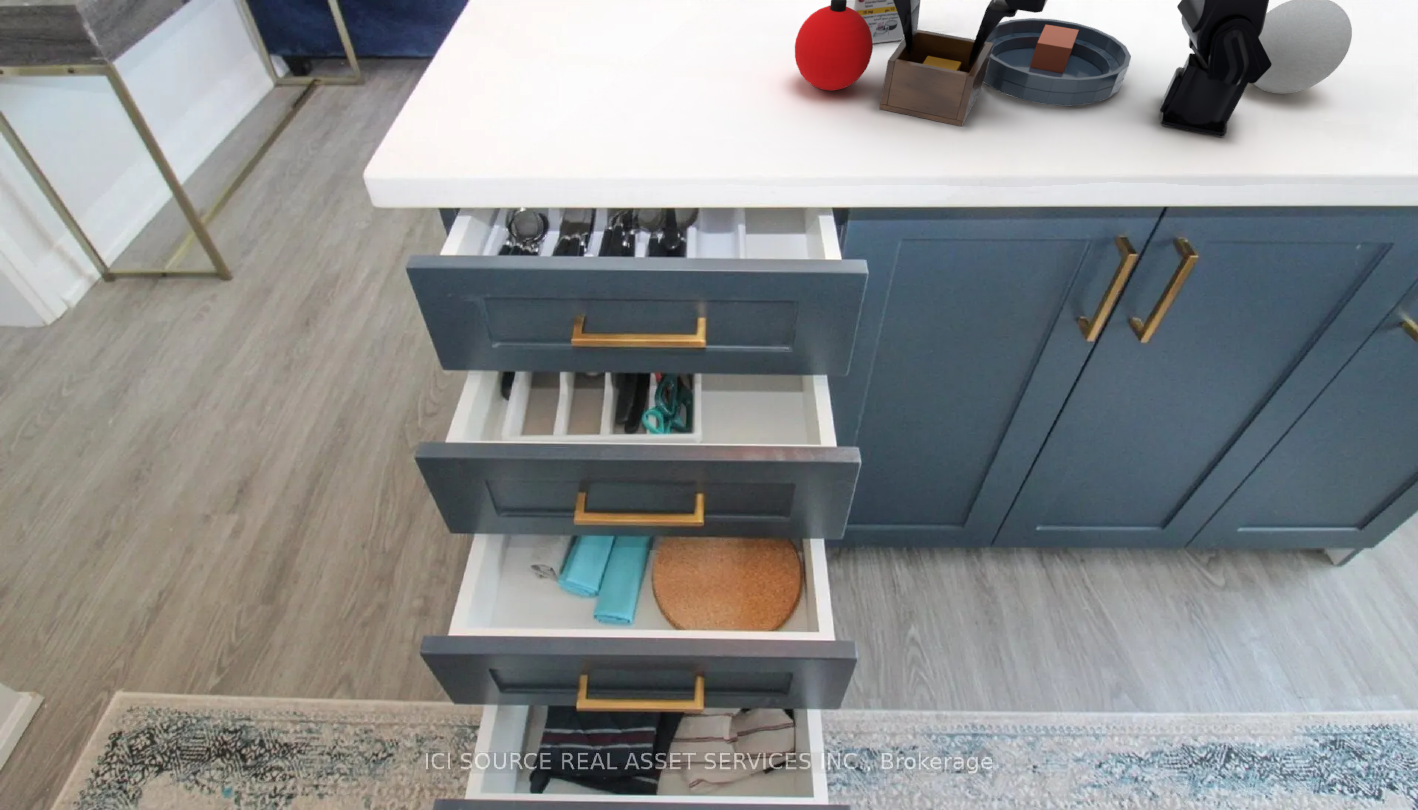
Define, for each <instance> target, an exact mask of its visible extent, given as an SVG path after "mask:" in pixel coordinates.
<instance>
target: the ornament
mask: <svg viewBox="0 0 1418 810" xmlns="http://www.w3.org/2000/svg"><path fill="white" fill-rule="evenodd" d="M846 5H847V0H830V5H827V6H824V7H822V8H819V9H817V10H815V11H814V12H813V13H812V14H810V15H809V16H808V17H807V18H806V19H805V20H804V22H803V23H802V25H801V26H800V28H799V29H798V33H797V35H796V37H795V43H794V58H795V59H794V60H795V64H796V66H797V68H798V70H799V72H800V74H801V76H802V77H803V78H804V79H805V81H806V82H808V83H809V84H810V85H811V86H813V87H815V88H817V89H820V90H824V91H838V90H844V89H846V88H848V87H850V86H851V85H852V84H854V83H856V82H857V81H858V80H859V79H860V78H861V77H862V76H863V74H864V73H865V72H866V70H867V68H868V66H869V64H870V62H871V59H872V54H873V48H874V47H873V45H874V43H873V42H872V35H871V31H870V28H869V26H868V24H867V23H866V21H865V20H864V18H863V17H862V16H861V15H860V14H859V13H858V12H857V11H855V10H853V9H851V8H849V7H846Z"/></svg>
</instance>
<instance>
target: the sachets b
mask: <svg viewBox="0 0 1418 810" xmlns="http://www.w3.org/2000/svg"><path fill="white" fill-rule="evenodd" d="M1078 31H1079V30H1076V29H1070V28H1064V27H1058V26H1052V25H1045V27H1044V29H1043V31H1042V34H1041V36H1040V38H1039V40H1038V42H1037V45H1036V49H1035V52H1034V55H1033V58H1032V61H1031V65H1030V67H1031V68H1037V69H1042V70H1047V71H1053V72H1058V73H1063V72H1064V70H1065V67H1066V65H1067V62H1068V59H1069V57H1070V54H1071V51H1072V48H1073V45H1074V42H1075V40H1076V37H1077V34H1078Z"/></svg>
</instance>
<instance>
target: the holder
mask: <svg viewBox="0 0 1418 810" xmlns="http://www.w3.org/2000/svg"><path fill="white" fill-rule="evenodd" d="M974 41H975V39H973V38H968V37H962V36H958V35H957V36H956V35H951V34H946V33H941V32H940V33H939V32H935V31H929V30H924V29H917V38H916V43H915V47H914V51H913V53H912V54H911V55H909V54H908V52H907V48H906V43H905V39H904V38H903V39H902V40H901V42H900V44H899V45H898V46H897V47H896V49H895V50H894V52H892V54H891V56H890V57H889V58H888V59H887V63H886V70H885V74H884V75H885V76H884V82H883V86H882V92H881V97H880V98H881V99H880V103H879V110H884V111H887V112H892V113H897V114H902V115H906V116H911V117H916V118H921V119H925V120H930V121H934V122H939V123H944V124H948V125H952V126H953V125H954V126H958V127H963V125H964V123H965V122H966V119H967V118H968V116H969V115H970V112H971V111H972V108H973V106H974V105H975V103H976V100H977V98H978V97H979V95H980V93H981V91H982V87H983V84H984V82H983V81H984V77H985V73H986V69H987V66H988V62H989V58H990V55H991V51H992V47H993V43H991V42H985V43H984V45H983V47H982V48H981V50H980V52H979V54H978V55H977V57H976V59H975V60H974V62H973V64H972V66H969V65H968V62H969V56H970V52H971V50H972V47H973V44H974ZM927 56H931V57H937V58H942V59H947V60H953V61H958V62H961V66H960V70H959V71H956V70H951V69H946V68H940V67H935V66H930V65H925V64H923V62H924V61H925V59H926V58H927Z"/></svg>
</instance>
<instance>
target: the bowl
mask: <svg viewBox="0 0 1418 810" xmlns="http://www.w3.org/2000/svg"><path fill="white" fill-rule="evenodd" d="M1045 25H1052V26H1058V27H1064V28H1070V29H1076V30H1079V31H1078V34H1077V37H1076V40H1075V42H1074V45H1073V48H1072V51H1071V54H1070V57H1069V59H1068V62H1067V65H1066V67H1065V70H1064V72H1063V73H1058V72H1053V71H1047V70H1042V69H1037V68H1031V67H1030V65H1031V61H1032V58H1033V55H1034V52H1035V49H1036V45H1037V42H1038V40H1039V38H1040V36H1041V34H1042V31H1043V29H1044V27H1045ZM986 42H991V43H993V47H992V51H991V55H990V58H989V62H988V66H987V69H986V73H985V77H984V81H983V84H986V85H987V86H989V87H990V88H992V89H994V90H996V92H997V91H998V92H999V93H1001V94H1004V95H1006V96H1010V97H1013V98H1016V99H1019V100H1022V101H1027V102H1031V103H1036V104H1041V105H1051V106H1067V107H1069V106H1070V107H1071V106H1082V105H1092V104H1096V103H1098V102H1103V101H1105V100H1108V99H1109V98H1111V97H1113V95H1115V94H1116V93H1117V92H1119V90H1120V88H1121V86H1122V84H1123V82H1124V79H1125V77H1126V74H1127V72H1128V69H1129V67H1130V63H1131V59H1132V54H1130V51H1129V49H1128V47H1127V46H1126V45H1125V44H1123V43H1122V42H1121V41H1119V40H1118V39H1117V38H1116V37H1114V36H1113V35H1111V34H1108V33H1106V32H1104V31H1102V30H1100V29H1097V28H1094V27H1091V26H1089V25H1084V24H1080V23H1078V22H1074V21H1073V22H1072V21H1066V20H1061V19H1056V18H1055V19H1054V18H1035V17H1034V18H1033V17H1030V18H1029V17H1028V18H1017V19H1016V18H1015V19H1010V20H1006V21H1000V22H999V24H998V25H997V26H996V27H995V29H994V30H993V31H992V33H991V34H990V35H989V37H988V38H987V40H986Z"/></svg>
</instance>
